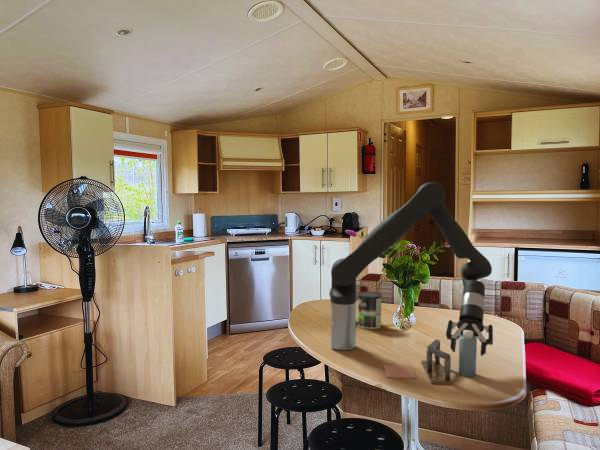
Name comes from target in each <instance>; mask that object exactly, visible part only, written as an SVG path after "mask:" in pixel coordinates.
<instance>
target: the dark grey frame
mask: <svg viewBox="0 0 600 450" xmlns="http://www.w3.org/2000/svg"><path fill="white" fill-rule="evenodd" d="M433 355H434V357H433ZM433 359H434V360H433ZM441 359H444V362H443V363H444V364H443V365H444V366H443V365H442V363H441ZM451 361H452V360H451V354H450V353H447V352H445V351H443V350H441V340H440V339H435V340H433V341H432V342H431V343H430V344H428V345H427V347H426V360H420V365H421V366H422V369H423V371H424V372H425V374H426V376H427V378H428V380H429V382H430V384H431V385H452V384H453V382H452V380H451V369H452V367H451V364H452V363H451Z"/></svg>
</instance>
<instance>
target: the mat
mask: <svg viewBox="0 0 600 450" xmlns="http://www.w3.org/2000/svg"><path fill="white" fill-rule="evenodd" d="M383 368H384V371H385V375H386V378H387V377H389V378H388V379H390V377H391V379H417V376H416V374H415V372H414V369H413V367H412V365H410V364H383Z"/></svg>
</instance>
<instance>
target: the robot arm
mask: <svg viewBox="0 0 600 450" xmlns="http://www.w3.org/2000/svg"><path fill="white" fill-rule="evenodd" d="M444 200H445V190H444V187H443V186H442V185H441V184H439V183H438V182H433V181H431V182H430V181H429V182H425V183H423V184H422V185H420V186H419V188H418V189H417V191H416V192H415V194H414V195H413V196H412V197H411V198H410V199H409V200H408V201H407V202H406V203H405V204H404V205H403V206H401V207H400V208H399V209H397V210H395V211H394V212H393V213H391V214H389V215H388V216H387V217H386V218H384V219H383V220H381V222H379V223H378V224H377V225H376V226H375V227H374V228H373V229H372V230H371V231H370V232H369V233H368V234H367V235H366V236H365V238H364V239H363V240H362V241H361V242H360V244H359V245H358V246H357V248H355V249H354V250H353V251H352V252H351V253H349V254H348V255H347V256H346V257H344V258H339V259H337V260H336V261H335V262H334V263H333V264H332V265H331V270H330V273H331V274H330V275H331V287H332V289H331V288H330V289H331V299H330V307H331V308H330V309H331V310H330V311H331V313H330V314H331V319H330V322H331V324H330V329H331V331H330V332H331V334H330V337H331V339H330V341H331V343H330V348H331V350H332V349H333V350H338V351H351V350H354V349H356V346H357V345H356V344H357V340H356V339H357V338H356V337H357V335H356V334H357V328H356V327H357V285H356V284H357V277H358V276H359V275H360V274H361V273H362V272H363V271H365V270H366V268H367V267H368V266H369V265H370V264H371V263H373V262H374V261H376V260H377V259H378V258H379V257H381V256H382V255H383V254H385V253H386V252H387V251H388V250H389V249H391V248H392V247H393V246H394V245H395V244H396V243H398V241H399V240H401V239H402V238H403V237H404V236H405V235H406V234H407V233H408V232H409V231H410V230H411V229H412V228H413V227H414V225H415V224H417V222H418V221H420V220H421V219H422V218H423V217H425V216H426V215H427V214H429V216H430V217H431V218H432V219H433V222H435V224H436V226H437V227H438V228H439V230H440V232H441V234H442V236H443V237H444V239H445V241H446V242H447V245H448V246H449V247H450V249H451V251H452V252H453V253H454V256H455V257H456V258H457V259H461V260H462V259H467V260H469V261H468V262H465V263H464V264H463V265H462V266H461V268H460V274H461V275H460V276H461V280H462V284H463V285H462V286H463V289H462V298H461V302H460V308H459V317H458V321H457V322H455V321H452V320H451V319H450V320H448V321H447V327H446V332H445V337H446V339H447V340H450V345H449V347H450V350H451V351H452V353H455V352H456V347H457V341H458V340H459V336H461V335H463V330H471V331H473V336H474V337H476V338H477V341H479V342H480V356H481V357H483V356H484V355H486V354H487V353H486V352H487V346H488V345H490V346H492V345H493V344H494V339H493V338H494V335H493V334H494V328H493V325H492V324H489V325H484V314H485V295H486V293H485V292H486V287H485V284H484V283H483V282H482V281H481V279H485V278H487V277H489V276H490V275H491V274H492V271H493V267H492V264H491V262H490V261H489V259H487V258H486V256H485V255H483V253H481V252H480V251H479V250H478V249H477V248H476V247H475V246H474V245H473V244H472V242H471V240H470V238H469V237H468V235H467V234H466V232H465V231H464V229H463V228H462V227H461V225H460V224H459V223H458V222H457V221H456V220H455V218H454V217H453V215H452V214H451V212H450V211H449V209H448V207H447V204H446V203H445V201H444ZM455 328H457V329H456V331H455V332H454V333H453V334H452V331H453V329H455ZM484 331H485V332H486V333H487V334H488V338H485V336H484V334H483V333H482V332H484Z"/></svg>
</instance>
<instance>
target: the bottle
mask: <svg viewBox="0 0 600 450" xmlns="http://www.w3.org/2000/svg"><path fill="white" fill-rule="evenodd" d="M458 340H459V341H458V375H460V376H461V377H464V378H475V377H476V375H477V345H478V344H477V341H478V338H477V337H474V336H473V331H471V330H463V335H461V336H459V339H458Z"/></svg>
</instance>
